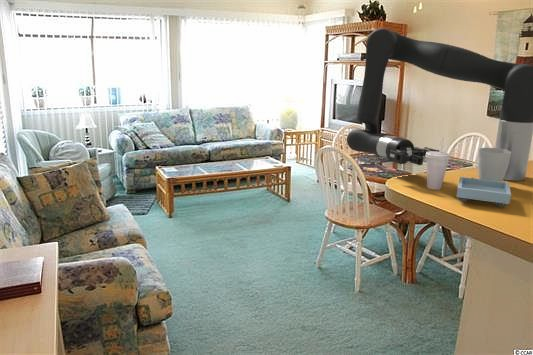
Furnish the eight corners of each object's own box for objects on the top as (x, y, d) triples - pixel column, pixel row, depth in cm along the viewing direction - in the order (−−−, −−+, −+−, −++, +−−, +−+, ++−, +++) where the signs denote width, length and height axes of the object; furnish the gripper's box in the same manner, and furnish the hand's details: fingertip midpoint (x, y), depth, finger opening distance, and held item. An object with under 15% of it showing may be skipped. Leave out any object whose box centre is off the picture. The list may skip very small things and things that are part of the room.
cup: (502, 182, 130) (507, 148, 127) (508, 190, 122) (514, 154, 119) (472, 179, 132) (476, 146, 129) (476, 187, 124) (481, 152, 122)
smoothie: (448, 191, 119) (455, 140, 116) (423, 190, 121) (429, 139, 117) (444, 185, 126) (450, 136, 122) (420, 183, 127) (425, 135, 123)
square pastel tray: (458, 191, 120) (460, 176, 119) (506, 197, 116) (508, 182, 115) (455, 203, 110) (457, 187, 109) (508, 210, 105) (511, 194, 104)
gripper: (376, 138, 132) (415, 148, 118) (414, 135, 138) (455, 145, 124) (374, 163, 134) (412, 176, 120) (411, 159, 140) (451, 171, 126)
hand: (434, 160), depth 122 cm, fingers open, 8 cm apart
